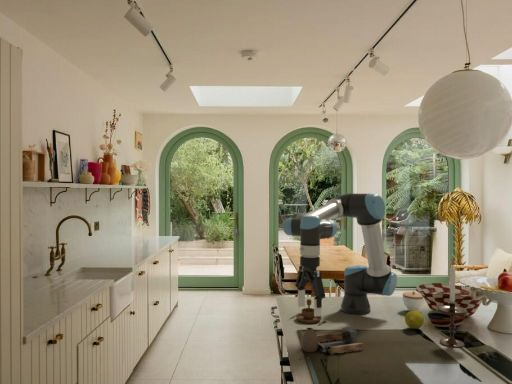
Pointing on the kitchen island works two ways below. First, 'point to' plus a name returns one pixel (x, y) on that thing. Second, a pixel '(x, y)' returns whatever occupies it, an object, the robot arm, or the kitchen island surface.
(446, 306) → the candlestick
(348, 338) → the lopsided grey dumbbell
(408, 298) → the lidded jar
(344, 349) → the channel
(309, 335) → the vase
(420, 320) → the lemon
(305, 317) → the place setting
